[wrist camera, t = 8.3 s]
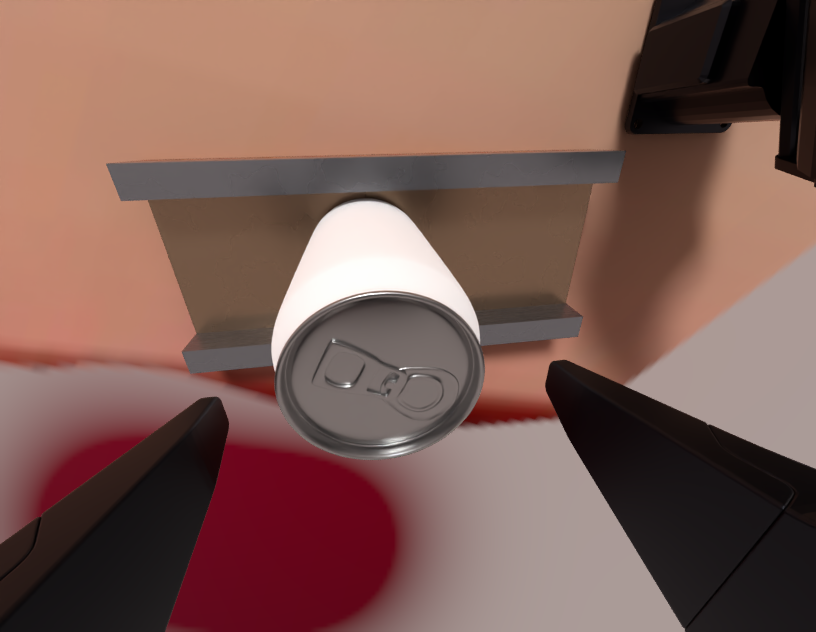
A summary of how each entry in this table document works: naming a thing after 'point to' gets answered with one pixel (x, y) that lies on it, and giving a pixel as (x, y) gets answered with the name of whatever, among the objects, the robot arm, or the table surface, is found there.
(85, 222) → the table surface
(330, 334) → the can
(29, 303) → the table surface
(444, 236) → the track
